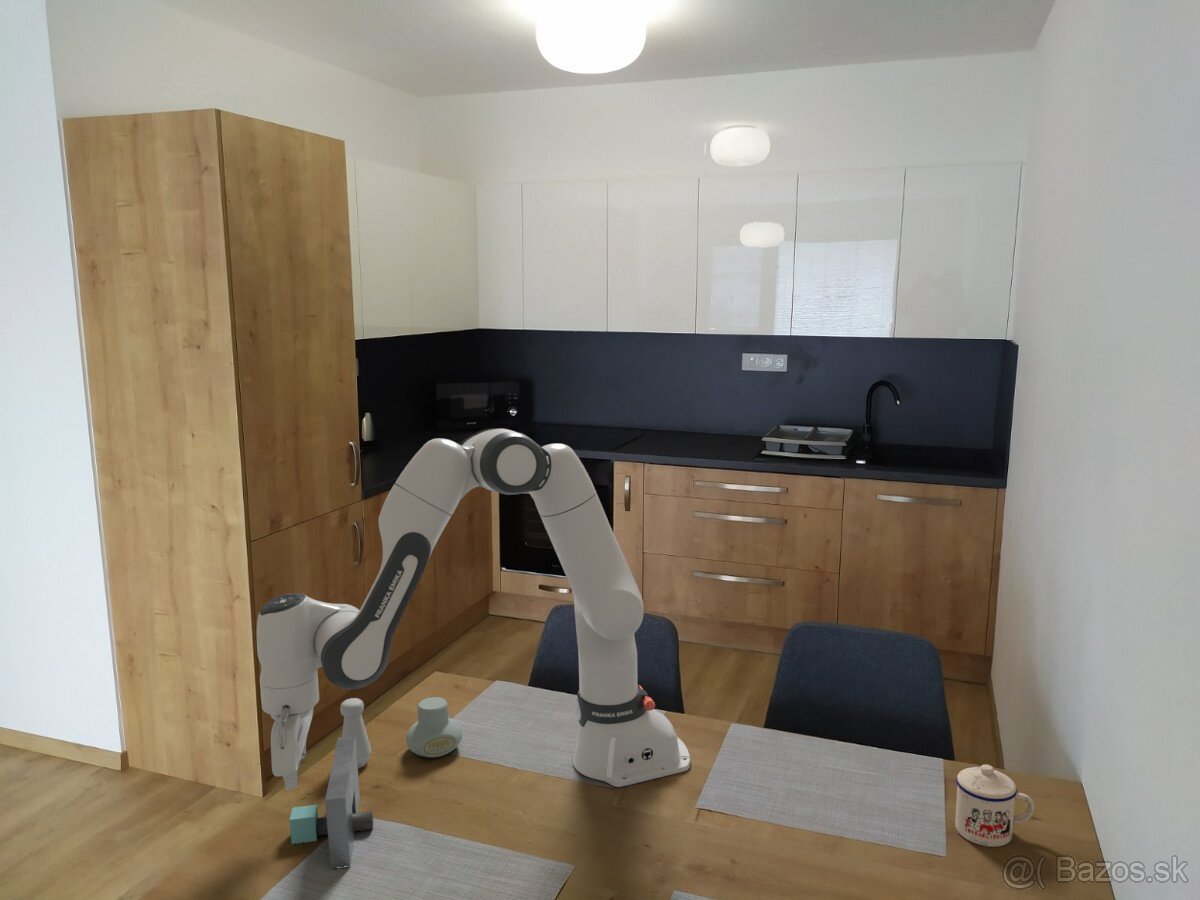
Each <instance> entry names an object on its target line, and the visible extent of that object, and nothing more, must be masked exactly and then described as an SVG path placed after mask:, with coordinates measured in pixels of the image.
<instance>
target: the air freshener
mask: <svg viewBox="0 0 1200 900" xmlns="http://www.w3.org/2000/svg"><path fill="white" fill-rule="evenodd" d="M448 705H449V704H448V701H447V700H446V699H444V698H443V697H437V696H431V697H427V698H424V699H422V700H421V701H419V702H418V704H417V721H416V722H414V723H413V724H412V725H411V726H410V728H409V729H408V731H407V733H406V736H405V741H406V745H407V747H408V749H409V750H410V751H411V752H413V754H415V755H418V756H419V757H425V758H431V759H432V758H433V759H435V758H436V757H437V758H440V757H441V758H442V757H443V756H445V755H447V754H449V753H451V752H452V751H454V750H455V749H456V748H458V746H459V745H460V743H461V741H462V740H463V739H462V738H463V728H462V727H461V725H460V724H459V723H458V721H456V720H454V719H453V718H452V717H449V706H448Z"/></svg>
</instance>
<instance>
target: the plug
mask: <svg viewBox="0 0 1200 900" xmlns="http://www.w3.org/2000/svg"><path fill="white" fill-rule="evenodd" d="M352 816H353V829H354V832H358V831H367V830H372V829H374V812H373V810H370V811H363V812H358V813H353V814H352ZM288 821H289V830H290V831H289V833H290V843H291V845H295V843H296V844H302V843H303V842H304V843H310V842H317V841H318V837H320V836H328V828H327V816H324V817H323V816H322V817H321V816H320V817H319V809H318V804H312V805H311V804H310V805H304V806H303V805H302V806H296V807H295V806H293V807H292V809H291V812H290V815H289V819H288ZM304 843H303V844H304Z"/></svg>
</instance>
